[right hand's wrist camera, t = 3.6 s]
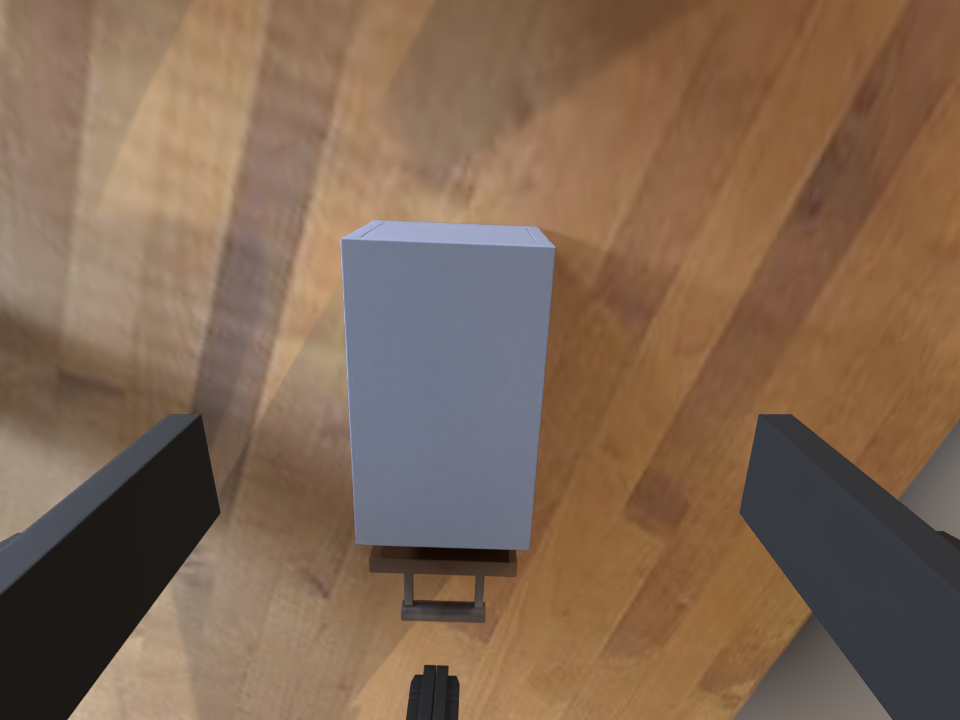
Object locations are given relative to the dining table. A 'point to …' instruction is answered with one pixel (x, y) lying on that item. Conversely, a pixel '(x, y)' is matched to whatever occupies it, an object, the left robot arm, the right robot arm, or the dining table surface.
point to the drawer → (444, 564)
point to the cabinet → (445, 380)
